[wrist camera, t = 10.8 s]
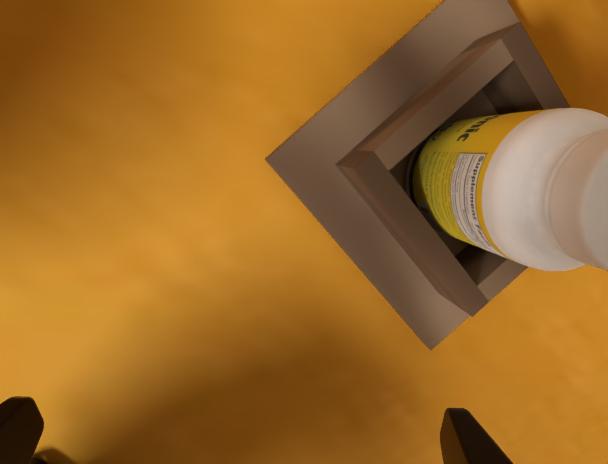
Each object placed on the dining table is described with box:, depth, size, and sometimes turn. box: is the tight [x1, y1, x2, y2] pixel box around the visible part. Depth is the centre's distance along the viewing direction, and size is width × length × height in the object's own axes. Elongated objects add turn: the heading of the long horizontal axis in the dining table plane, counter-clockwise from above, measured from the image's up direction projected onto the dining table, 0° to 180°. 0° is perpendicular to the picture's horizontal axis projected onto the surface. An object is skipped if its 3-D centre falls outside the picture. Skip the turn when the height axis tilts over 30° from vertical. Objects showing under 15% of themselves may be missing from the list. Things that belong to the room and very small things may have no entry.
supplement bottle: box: [406, 108, 608, 271], centre depth 16 cm, size 5×5×10 cm
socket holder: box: [265, 0, 570, 350], centre depth 20 cm, size 13×13×4 cm
